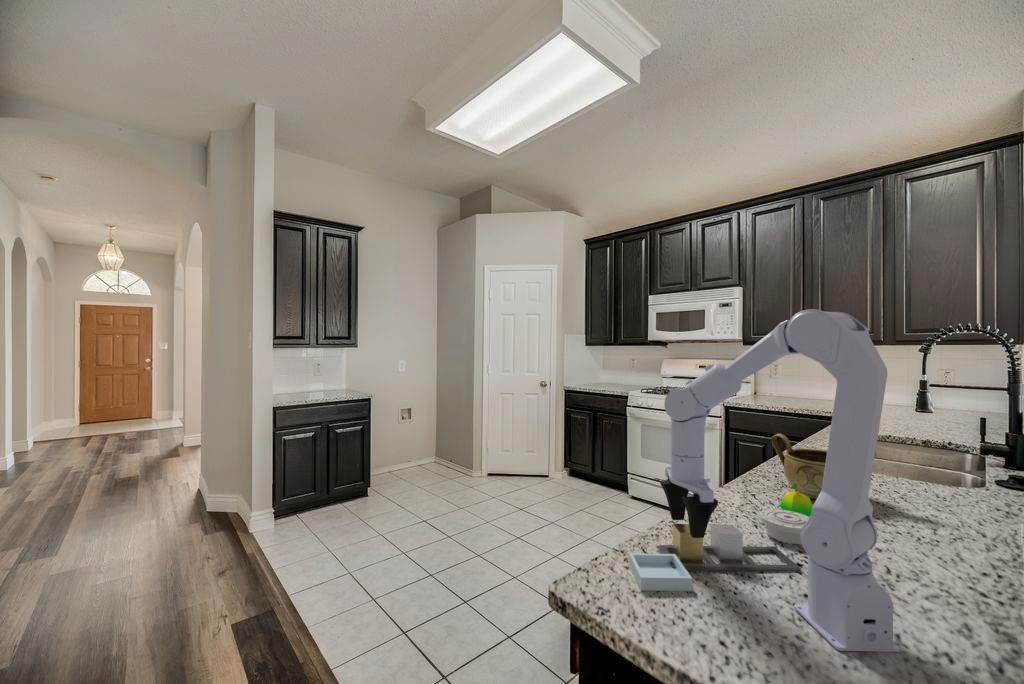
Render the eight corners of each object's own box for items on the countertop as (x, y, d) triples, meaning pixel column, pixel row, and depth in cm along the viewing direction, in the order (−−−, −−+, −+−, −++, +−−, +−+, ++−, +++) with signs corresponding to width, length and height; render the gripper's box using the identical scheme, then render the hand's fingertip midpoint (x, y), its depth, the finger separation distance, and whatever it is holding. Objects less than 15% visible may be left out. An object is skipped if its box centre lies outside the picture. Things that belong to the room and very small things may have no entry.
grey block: (742, 567, 79) (742, 533, 79) (719, 567, 79) (719, 533, 79) (732, 556, 83) (732, 524, 83) (710, 556, 83) (710, 524, 83)
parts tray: (692, 591, 71) (692, 578, 71) (640, 590, 71) (640, 577, 71) (674, 565, 79) (674, 554, 79) (628, 565, 80) (628, 553, 80)
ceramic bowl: (761, 494, 117) (761, 437, 118) (783, 480, 129) (783, 429, 129) (868, 519, 101) (868, 453, 101) (882, 501, 112) (882, 442, 112)
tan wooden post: (702, 566, 79) (702, 533, 79) (680, 566, 79) (680, 532, 79) (694, 556, 83) (694, 524, 83) (672, 555, 83) (672, 523, 83)
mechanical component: (754, 517, 90) (766, 504, 98) (754, 538, 90) (766, 524, 98) (812, 531, 84) (821, 516, 91) (812, 554, 84) (821, 537, 91)
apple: (790, 513, 104) (790, 475, 104) (819, 523, 98) (819, 482, 98) (772, 519, 100) (772, 480, 100) (802, 530, 95) (802, 487, 95)
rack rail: (800, 573, 77) (800, 568, 77) (672, 571, 77) (672, 565, 77) (774, 552, 85) (774, 546, 85) (658, 550, 85) (658, 545, 85)
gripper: (731, 464, 74) (730, 545, 74) (689, 444, 89) (689, 512, 89) (690, 465, 74) (690, 546, 74) (655, 444, 88) (654, 513, 88)
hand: (687, 527), depth 81 cm, fingers open, 7 cm apart
